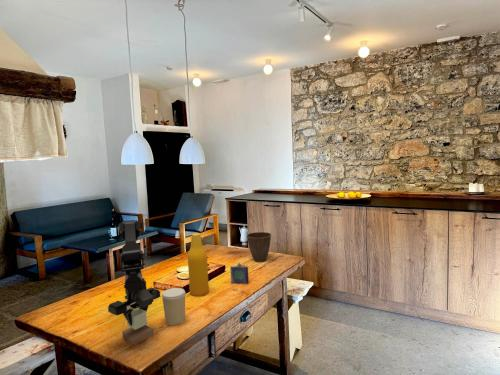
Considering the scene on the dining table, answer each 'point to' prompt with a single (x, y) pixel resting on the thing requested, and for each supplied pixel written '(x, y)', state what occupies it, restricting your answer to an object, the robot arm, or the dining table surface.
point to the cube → (138, 318)
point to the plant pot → (259, 245)
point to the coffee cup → (174, 306)
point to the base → (137, 334)
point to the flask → (239, 274)
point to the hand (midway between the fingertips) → (137, 322)
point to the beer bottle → (197, 267)
